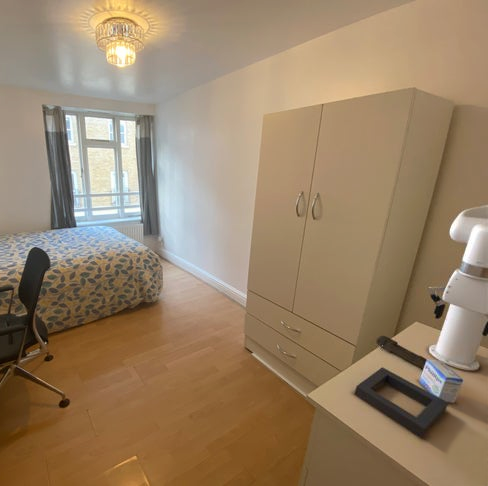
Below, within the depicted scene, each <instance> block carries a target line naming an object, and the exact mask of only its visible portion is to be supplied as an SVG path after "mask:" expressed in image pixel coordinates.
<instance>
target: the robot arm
mask: <svg viewBox="0 0 488 486" xmlns="http://www.w3.org/2000/svg"><path fill="white" fill-rule="evenodd" d="M449 236H450V238H451V239H452V240H453V241H455V242H456V243H457V242H458V243H463V244H466V247H465V250H464V252H463V256H462V258H461V262H460V265H459V268H456V269H455V270H454V272H453V273H452V274H451V277H450V278H449V279H448V282H447V284H446V285H442V286H441V285H440V286H430V287H428V289H427V290H428V294H429V295H430V298H431V300H432V301H433V303H434V305H435V308H434V312H433V314H434V315H435V317H434V319H437V320H439V319H440V318H442V317H443V314H444V312H445V309H446V305H445V304H449V307H448V310H447V312H446V317H445V319H444V322H443V325H442V328H441V331H440V334H439V337H438V340H437V343H436V344H432V345H430V346H429V347H428V352H429V354H430V355H432V357H434V358H435V360H437V361H442V362H443V363H444V364H446V365H447V366H450V367H452V368H456V369H459V370H464V371H477V370H478V369H479V368H480V362H479V361H478V360H477V359H476V356H477V353H478V350H479V348H480V345H481V343H482V340H483V338H484V337H487V336H488V204H486V205H482V206H475V207H471V208H467V209H465V210H462V211H461V212H460V213H459V214H458V215H457V217H456V218H455V219H454V220H453V222H452V223H451V226H450V228H449ZM437 292H443V295H442V298H441V297H440V295H439V294H438V293H437Z"/></svg>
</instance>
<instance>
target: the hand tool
mask: <svg viewBox="0 0 488 486" xmlns="http://www.w3.org/2000/svg"><path fill="white" fill-rule="evenodd" d="M375 343H376V344H377V345H378V346H379V347H381V346H382V345H383V346H382V347H381V348H382V349H383V350H385V351H387V352H388V353H389V354H395V355H397V356H399V357H400V358H402V359H404V360H406V361H408V362H410V363H412V364H413V365H415V366H417V367H419V368H420V369H422V370H423V369H424V367H425V364H426V361H427V360H428V359H427V358H425V357H423V356H422V355H420V354H417V353H415V352H413V351H411V350H409V349H407V348H406V347H404V346H403V345H402V346H401V345H400V344H398V343H399V342H398V341H396V340H394V339H392V338H390V337H388V336H386V335H380V336H379V337H377V338H376V341H375Z"/></svg>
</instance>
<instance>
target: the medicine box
mask: <svg viewBox="0 0 488 486" xmlns="http://www.w3.org/2000/svg"><path fill="white" fill-rule="evenodd" d="M463 382H464V379H463V378H462V377H461V376H460V375H459V374H457V373H456V372H455V371H454V370H453V369H451V368H450V367H449V365H448V364H445V363H443V362H442V361H440V360H438V359H427V361H426V364H425V367H424V369H422V372H421V376H420V378H419V383H420V384H421V385H422V386H423V387H424V388H425V390H426V391H427V392H429V393H431V394H433V395H435V396H437V397H439V398H440V399H442V400H444V401H446V402H448V403H450V404H451V403H452V404H454V403H455V402H456V399H457V397H458V394H459V392H460V390H461V387H462V385H463Z"/></svg>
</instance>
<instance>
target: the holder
mask: <svg viewBox="0 0 488 486" xmlns="http://www.w3.org/2000/svg"><path fill="white" fill-rule="evenodd" d="M385 384H386V385H388V386H390V387H392V388H393V389H394V390H397V391H399V392H400V393H402V394H404V395H405V396H407V397H409V398H411V399H412V400H414V401H417V402H418V403H419V404H421V405H423V406H425V408H424V409H423V410H422V411H421V412H419V414H418V415H417V416H415V415H414V414H412V413H411V412H409V411H408V410H406V409H404V408H403V407H401V406H399V405H398V404H396V403H394V402H393V401H391V400H389V398H386V397H385V396H383V395H381V394H380V393H378V392H377V390H378V389H380V388H381V387H382V386H384V385H385ZM354 395H355V396H356V397H357V398H359V399H360V400H362V401H364V402H365V403H367V404H368V405H370V406H371V407H373V408H374V409H376V410H377V411H379V412H380V413H382V414H383V415H384V416H386V417H387V418H390V419H391V420H392V421H394V422H396V423H397V424H398V425H400V426H402V427H403V428H405V429H406V430H408V431H409V432H410V433H412V434H413V435H414V436H416V437H418V438H419V439H423V438H424V436H425V435H426V434H427V433H428V432H429V430H430V429H432V427H433V426H434V425H435V424H436V422H437V421H438V420H439V419H440V418H441V417H442V416H443V415H444V414H445V412H446V410H447V407H448V405H449V402H446V401H444V400H442V399H440V398H439V397H437V396H435V395H433V394H431V393H430V392H429V391H428V390H427V389H424V388H422V387H420V386H419V385H416V384H415V383H413V382H411V381H410V380H407V379H405V378H403V377H402V376H400V375H398V374H396V373H394V372H392V371H390V369H389V370H388V369H387V368H385V367H384V366H382V367H380V368H379V369H378V370H376V371H375V372H373V373H372V374H370V376H368V377H366V378H365V379H364V380H363V381H361V382H360V383H359V384H357V385H356V387H355V391H354Z"/></svg>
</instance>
